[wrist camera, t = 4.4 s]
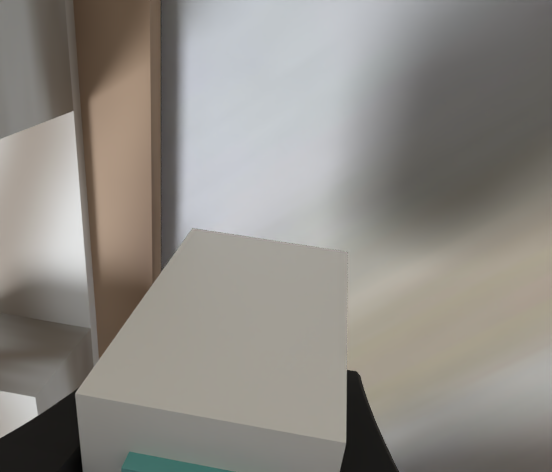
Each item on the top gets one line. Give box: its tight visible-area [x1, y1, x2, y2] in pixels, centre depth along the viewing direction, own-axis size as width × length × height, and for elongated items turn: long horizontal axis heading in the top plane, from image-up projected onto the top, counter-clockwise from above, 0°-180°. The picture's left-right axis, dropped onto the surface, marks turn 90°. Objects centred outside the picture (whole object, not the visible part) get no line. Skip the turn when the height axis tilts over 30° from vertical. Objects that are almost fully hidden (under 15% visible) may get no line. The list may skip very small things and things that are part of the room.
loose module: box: [75, 228, 348, 472], centre depth 11 cm, size 4×6×6 cm, turn 174°
